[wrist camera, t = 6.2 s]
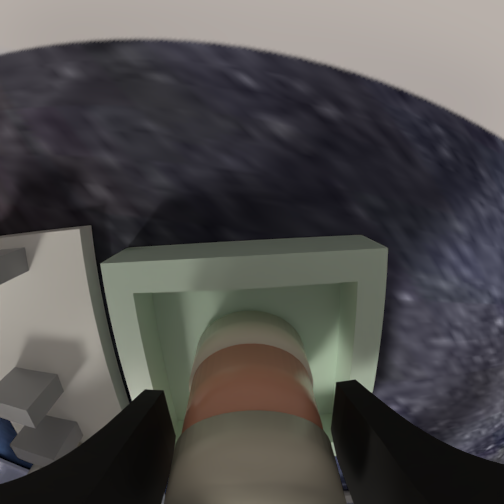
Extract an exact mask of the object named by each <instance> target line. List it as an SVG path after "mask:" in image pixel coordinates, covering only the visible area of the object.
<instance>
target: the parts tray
mask: <svg viewBox="0 0 504 504" xmlns="http://www.w3.org/2000/svg"><path fill="white" fill-rule="evenodd" d="M387 261H388V248H387V247H385V246H383V245H381V244H379V243H377V242H375V241H373V240H371V239H369V238H367V237H365V236H363V235H345V236H323V237H303V238H283V239H264V240H246V241H228V242H210V243H193V244H177V245H160V246H144V247H129V248H126V249H124V250H122V251H121V252H119V253H117V254H115V255H114V256H112V257H110V258H109V259H107V260H105V261H104V262H102V263H100V266H101V272H102V278H103V284H104V289H105V295H106V300H107V305H108V310H109V315H110V320H111V324H112V329H113V333H114V337H115V341H116V345H117V350H118V353H119V357H120V361H121V365H122V369H123V372H124V376H125V379H126V383H127V386H128V389H129V393H130V396H131V399H132V401H133V400H134V399H135V398H136V397H137V396H138V395H139V394H140V393H141V392H143V391H144V390H145V389H148V390H164V393H165V397H166V401H167V405H168V409H169V413H170V417H171V420H172V424H173V428H174V431H175V435H176V440H175V444H176V442H177V440H178V438H179V437H180V435H181V433H182V428H183V423H184V418H185V413H186V408H187V404H188V399H189V394H190V392H189V379H190V375H191V371H192V366H193V362H194V357H195V353H196V349H197V344H198V341H199V339H200V337H201V335H202V334H203V332H204V331H205V330H206V328H207V327H208V326H210V325H211V324H212V323H213V322H214V321H216V320H217V319H219V318H221V317H223V316H225V315H228V314H231V313H235V312H239V311H262V312H267V313H270V314H273V315H276V316H278V317H280V318H282V319H284V320H285V321H287V322H288V323H289V324H290V325H292V326H293V327H294V328H295V330H296V331H297V332H298V334H299V336H300V337H301V340H302V342H303V345H304V349H305V352H306V356H307V359H308V363H309V366H310V370H311V373H312V378H313V392H314V396H315V400H316V403H317V407H318V411H319V415H320V419H321V422H322V426H323V430H324V432H325V433H326V434H327V436H328V437H329V439H330V442H331V445H332V449H333V453H334V456H336V452H335V448H334V443H333V438H332V434H331V423H332V415H333V406H334V397H335V388H336V382H341V381H348V380H355V379H356V380H357V381H358V382H359V383H360V384H362V385H363V386H364V387H365V388H366V389H368V390H369V391H370V392H371V393H373V388H374V382H375V376H376V369H377V363H378V356H379V349H380V341H381V333H382V324H383V315H384V304H385V293H386V279H387ZM174 449H175V448H174Z"/></svg>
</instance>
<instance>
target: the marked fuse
mask: <svg viewBox="0 0 504 504" xmlns="http://www.w3.org/2000/svg"><path fill="white" fill-rule="evenodd" d="M189 392H190V394H189V399H188V404H187V408H186V413H185V418H184V423H183V428H182V433H181V435H180V437H179V438H178V440H177V442H176V444H175V449H174V454H173V459H172V464H171V469H170V474H169V479H168V485H167V490H166V495H165V500H164V504H347V503H346V499H345V495H344V491H343V487H342V483H341V479H340V475H339V472H338V468H337V464H336V460H335V457H334V453H333V449H332V445H331V442H330V439H329V437H328V436H327V434H326V433H325V432H324V430H323V426H322V422H321V419H320V415H319V411H318V407H317V403H316V400H315V396H314V392H313V378H312V373H311V370H310V366H309V363H308V359H307V356H306V352H305V349H304V345H303V342H302V340H301V337H300V336H299V334H298V332H297V331H296V330H295V328H294V327H293V326H292V325H290V324H289V323H288V322H287V321H285V320H284V319H282V318H280V317H278V316H276V315H273V314H270V313H267V312H262V311H239V312H235V313H231V314H228V315H225V316H223V317H221V318H219V319H217V320H216V321H214V322H213V323H212V324H211V325H210V326H208V327H207V328H206V330H205V331H204V332H203V334H202V335H201V337H200V339H199V341H198V344H197V349H196V353H195V357H194V362H193V366H192V371H191V375H190V379H189Z"/></svg>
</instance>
